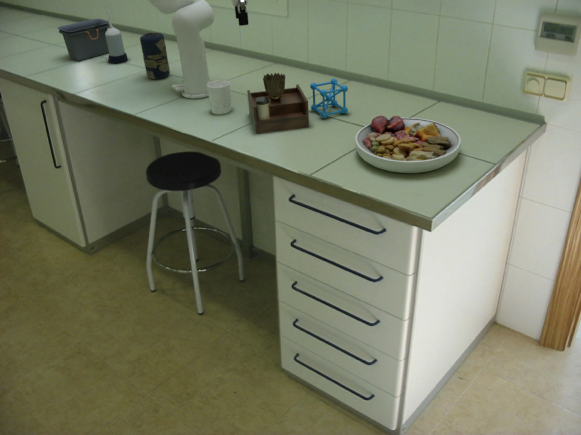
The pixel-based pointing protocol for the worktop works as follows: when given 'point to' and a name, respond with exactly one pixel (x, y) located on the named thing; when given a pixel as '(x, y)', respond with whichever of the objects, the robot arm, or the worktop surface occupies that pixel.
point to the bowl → (407, 144)
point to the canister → (155, 55)
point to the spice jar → (262, 108)
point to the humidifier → (115, 43)
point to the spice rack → (281, 111)
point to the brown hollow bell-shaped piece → (274, 85)
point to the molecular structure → (329, 98)
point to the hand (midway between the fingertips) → (242, 21)
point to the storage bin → (85, 38)
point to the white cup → (219, 96)
